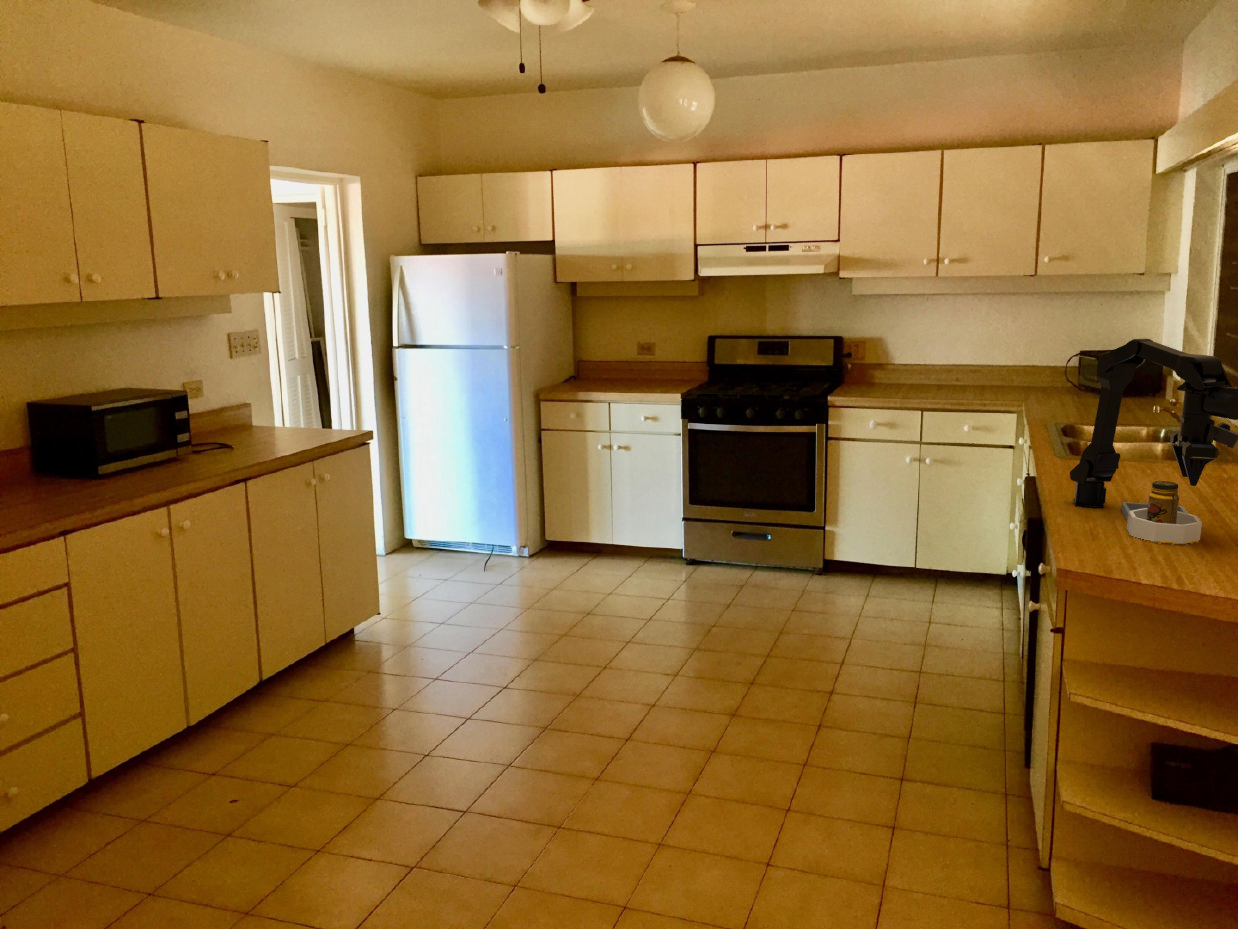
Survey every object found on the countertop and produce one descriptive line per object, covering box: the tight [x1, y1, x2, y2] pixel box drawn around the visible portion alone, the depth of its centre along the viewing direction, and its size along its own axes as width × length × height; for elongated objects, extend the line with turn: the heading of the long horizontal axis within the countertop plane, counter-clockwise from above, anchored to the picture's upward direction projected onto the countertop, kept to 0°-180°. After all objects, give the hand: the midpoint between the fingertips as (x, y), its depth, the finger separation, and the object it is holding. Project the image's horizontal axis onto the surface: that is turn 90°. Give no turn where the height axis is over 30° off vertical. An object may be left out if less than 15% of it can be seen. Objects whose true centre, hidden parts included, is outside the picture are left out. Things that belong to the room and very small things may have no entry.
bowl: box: [1126, 508, 1203, 543], centre depth 224 cm, size 14×14×4 cm
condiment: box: [1147, 480, 1180, 524], centre depth 224 cm, size 7×8×12 cm
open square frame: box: [1120, 501, 1190, 522], centre depth 238 cm, size 14×14×2 cm
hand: (1189, 481), depth 221 cm, fingers open, 9 cm apart
